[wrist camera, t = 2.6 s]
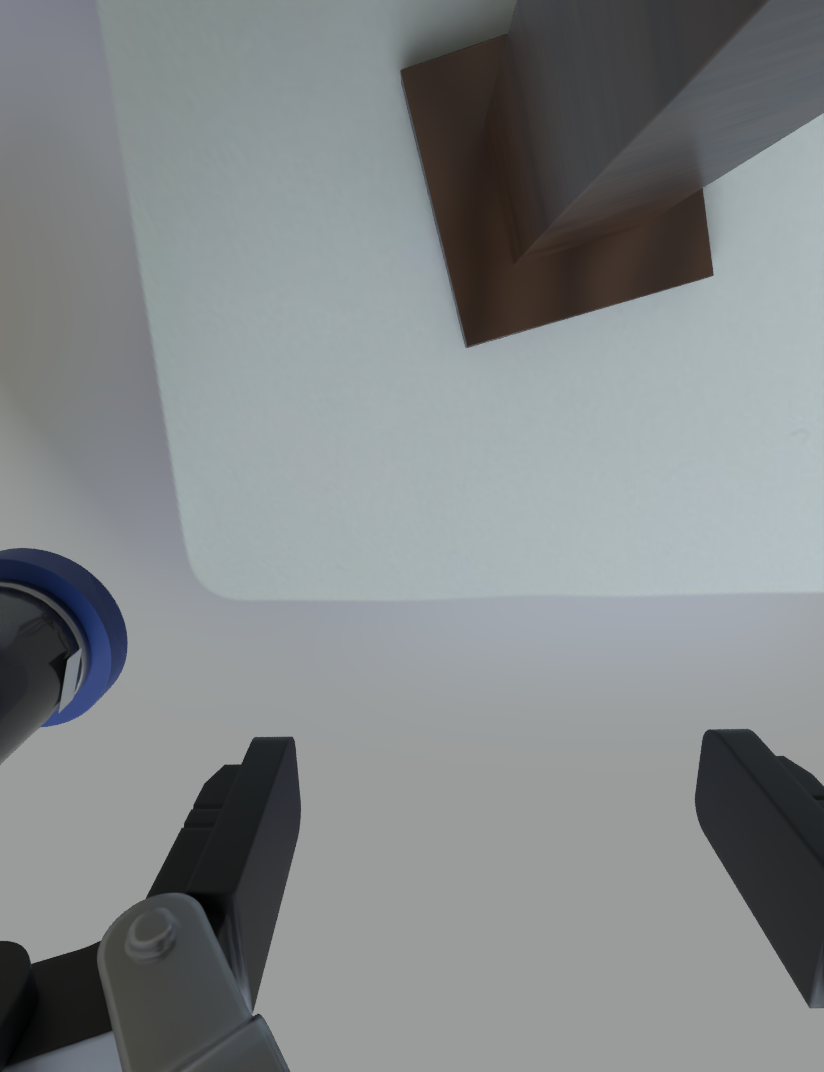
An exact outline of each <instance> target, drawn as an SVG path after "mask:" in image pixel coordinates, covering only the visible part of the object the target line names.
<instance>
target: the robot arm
mask: <svg viewBox="0 0 824 1072" xmlns="http://www.w3.org/2000/svg"><path fill="white" fill-rule="evenodd" d="M90 666H91V649H90V644H89V640H88V637H87V634H86V632H85V630H84V628H83V626H82V624H81V622H80V621H79V619H78V618H77V616H76V615H75V614H74V613H73V611H72V610H71V609H70V608H69V607H68V606H67V605H66V604H65V603H64V602H63V601H61V600H60V599H59V598H57V597H56V596H55V595H53V594H52V593H50V592H49V591H47V590H45V589H43V588H41V587H39V586H36V585H34V584H31V583H28V582H24V581H20V580H14V579H0V765H1V763H3V762H4V761H5V760H6V759H7V758H8V757H9V756H10V755H11V754H12V753H13V752H14V751H15V750H16V749H17V748H18V747H19V746H20V745H21V744H22V743H23V742H24V741H26V740H27V739H28V738H29V737H30V736H31V735H32V734H33V733H34V732H35V731H36V730H37V729H38V728H40V727H41V726H42V725H43V724H44V723H45V722H46V721H47V720H48V719H49V718H50V717H51V716H52V715H53V714H54V713H55V712H56V711H57V710H59V713H60V712H61V711H62V710H63V709H64V708H65V707H66V706H67V705H68V704H69V703H70V702H71V701H72V700H73V697H74V696H75V695H76V694H77V693H78V692H79V691H80V690H81V688H82V687H83V685H84V684H85V682H86V680H87V677H88V675H89V671H90ZM296 759H297V758H296V748H295V741H294V739H293V737H255V738H253V740H252V742H251V744H250V746H249V748H248V751H247V753H246V755H245V757H244V760H243V762H242V764H241V765H224V766H223V767H222V768H221V769H220V770H219V771H218V772H216V773H215V774H214V775H213V776H212V777H211V778H210V779H209V780H208V781H207V782H206V783H205V784H204V786H203V788H202V790H201V791H200V793H199V795H198V797H197V799H196V802H195V803H194V807H193V809H192V810H191V811H190V813H189V815H188V817H187V819H186V821H185V823H184V828H182V829H181V831H180V833H179V834H178V837H177V839H176V840H175V842H174V844H173V846H172V848H171V850H170V852H169V854H168V856H167V858H166V860H165V862H164V864H163V866H162V868H161V870H160V872H159V874H158V875H157V877H156V880H155V881H154V883H153V885H152V887H151V889H150V891H149V893H148V895H147V897H146V899H145V900H143V901H140V902H139V903H137V904H135V905H133V906H132V907H131V908H129V909H128V910H127V911H125V912H124V913H123V914H121V915H120V917H118V918H117V919H116V920H115V921H114V922H113V924H112V925H111V926H110V927H109V929H108V930H107V931H106V933H105V935H104V936H103V938H102V940H101V941H99V942H97V943H95V944H93V945H91V946H89V947H86V948H83V949H80V950H77V951H73V952H70V953H67V954H63V955H60V956H56V957H53V958H50V959H47V960H43V961H40V962H36V963H33V964H31V962H30V958H29V955H28V953H27V951H26V950H25V949H24V948H23V947H22V946H21V945H19V944H17V943H14V942H9V941H0V1072H290V1070H289V1068H288V1066H287V1064H286V1062H285V1060H284V1058H283V1055H282V1053H281V1051H280V1049H279V1047H278V1045H277V1043H276V1041H275V1039H274V1036H273V1034H272V1032H271V1030H270V1028H269V1026H268V1025H267V1023H266V1021H265V1020H264V1018H263V1017H262V1016H261V1015H260V1014H257V1015H255V1016H254V1017H253V1016H252V1013H253V1010H254V1006H255V1003H256V999H257V995H258V990H259V987H260V983H261V979H262V975H263V971H264V968H265V963H266V960H267V956H268V952H269V948H270V944H271V940H272V936H273V933H274V928H275V924H276V921H277V917H278V913H279V909H280V905H281V901H282V897H283V894H284V889H285V886H286V882H287V878H288V874H289V870H290V866H291V862H292V859H293V854H294V851H295V847H296V843H297V839H298V834H299V828H300V817H301V801H300V790H299V779H298V768H297V760H296ZM695 806H696V812H697V816H698V820H699V823H700V826H701V828H702V830H703V832H704V834H705V836H706V837H707V839H708V841H709V842H710V844H711V846H712V847H713V849H714V850H715V852H716V854H717V856H718V857H719V859H720V860H721V862H722V864H723V865H724V867H725V869H726V870H727V872H728V874H729V875H730V877H731V879H732V880H733V882H734V884H735V885H736V887H737V888H738V890H739V892H740V893H741V895H742V897H743V899H744V900H745V902H746V903H747V905H748V907H749V908H750V910H751V911H752V913H753V915H754V917H755V918H756V920H757V921H758V923H759V925H760V927H761V928H762V930H763V931H764V933H765V935H766V937H767V938H768V940H769V941H770V943H771V945H772V946H773V948H774V950H775V951H776V953H777V955H778V956H779V958H780V960H781V961H782V963H783V965H784V966H785V968H786V970H787V971H788V973H789V975H790V976H791V978H792V979H793V981H794V983H795V985H796V986H797V988H798V990H799V991H800V993H801V994H802V996H803V998H804V999H805V1001H806V1003H807V1004H808V1006H809V1008H824V786H823V785H822V784H821V783H820V782H819V781H818V780H817V779H816V778H815V777H814V776H813V775H812V774H811V773H809V772H808V771H806V770H805V769H803V768H802V767H800V766H798V765H797V764H795V763H794V762H792V761H791V760H789V759H787V758H786V757H784V756H775V755H774V754H773V753H772V751H770V749H769V748H768V747H767V746H766V745H765V744H764V743H763V742H762V741H761V739H760V738H759V737H758V736H757V735H756V734H755V733H754V732H753V731H751V730H749V729H718V730H707V731H706V732H705V734H704V736H703V740H702V747H701V755H700V762H699V770H698V777H697V785H696V793H695Z"/></svg>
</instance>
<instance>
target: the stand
mask: <svg viewBox="0 0 824 1072" xmlns="http://www.w3.org/2000/svg"><path fill="white" fill-rule="evenodd" d="M400 73H401V84H402V88H403V92H404V96H405V101H406V105H407V109H408V113H409V117H410V121H411V125H412V129H413V133H414V138H415V142H416V146H417V150H418V154H419V158H420V162H421V166H422V171H423V175H424V179H425V183H426V187H427V191H428V195H429V199H430V203H431V208H432V212H433V216H434V220H435V224H436V228H437V232H438V236H439V241H440V245H441V249H442V253H443V257H444V261H445V265H446V269H447V273H448V278H449V282H450V286H451V290H452V294H453V298H454V302H455V306H456V310H457V315H458V319H459V323H460V327H461V331H462V335H463V339H464V343H465V347H466V348H468V347H472V346H475V345H478V344H482V343H485V342H489V341H492V340H496V339H499V338H502V337H506V336H509V335H513V334H516V333H520V332H523V331H526V330H530V329H533V328H537V327H540V326H544V325H547V324H550V323H554V322H557V321H561V320H564V319H568V318H571V317H574V316H578V315H581V314H585V313H588V312H592V311H595V310H598V309H602V308H605V307H609V306H612V305H615V304H619V303H622V302H626V301H629V300H633V299H636V298H639V297H643V296H646V295H650V294H653V293H657V292H660V291H663V290H667V289H670V288H674V287H677V286H681V285H684V284H687V283H691V282H694V281H698V280H701V279H704V278H708V277H711V276H713V267H712V259H711V251H710V244H709V236H708V228H707V220H706V212H705V204H704V196H703V189H702V188H703V187H705V186H707V185H708V184H710V183H711V182H713V181H715V180H716V179H718V178H719V177H721V176H723V175H724V174H726V173H727V172H729V171H731V170H732V169H734V168H736V167H737V166H739V165H740V164H742V163H744V162H745V161H747V160H748V159H750V158H752V157H753V156H755V155H757V154H758V153H760V152H761V151H763V150H765V149H766V148H768V147H769V146H771V145H773V144H774V143H776V142H777V141H779V140H781V139H782V138H784V137H786V136H787V135H789V134H790V133H792V132H794V131H795V130H797V129H798V128H800V127H802V126H803V125H805V124H807V123H808V122H810V121H811V120H813V119H815V118H816V117H818V116H819V115H821V114H823V113H824V0H517V2H516V6H515V10H514V14H513V17H512V21H511V25H510V29H509V32H508V34H505V35H502V36H499V37H496V38H493V39H491V40H488V41H485V42H482V43H479V44H476V45H473V46H470V47H467V48H464V49H461V50H458V51H455V52H452V53H449V54H446V55H443V56H440V57H437V58H434V59H432V60H429V61H426V62H423V63H420V64H417V65H414V66H411V67H408V68H405V69H402V70H401V71H400Z"/></svg>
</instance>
